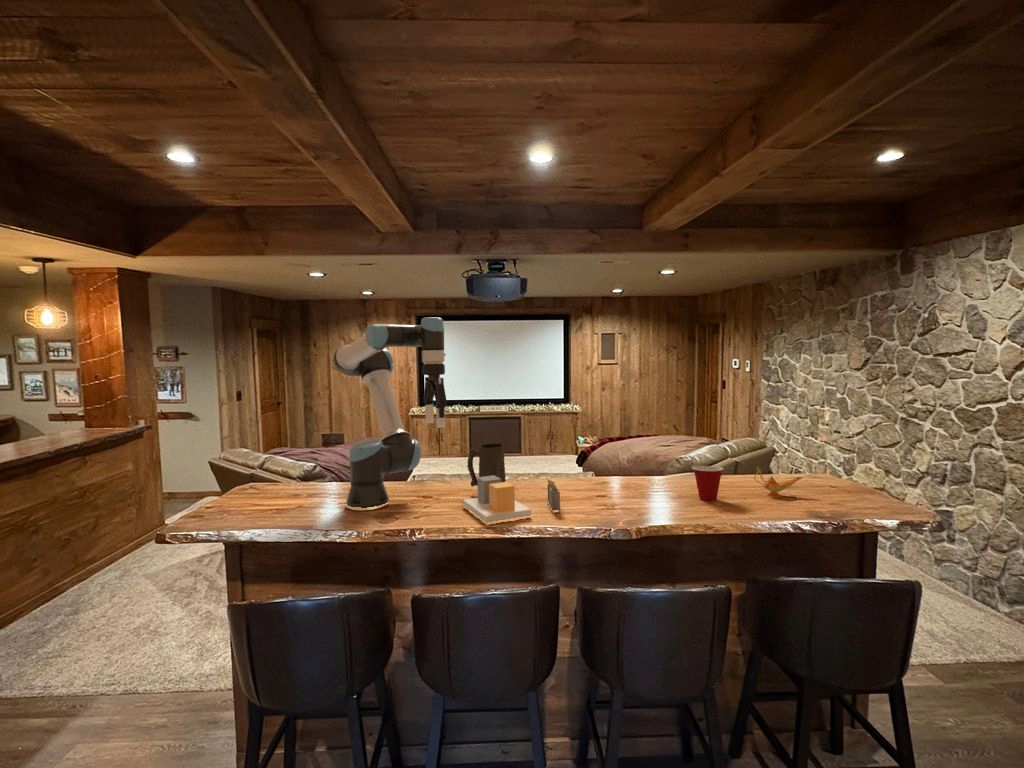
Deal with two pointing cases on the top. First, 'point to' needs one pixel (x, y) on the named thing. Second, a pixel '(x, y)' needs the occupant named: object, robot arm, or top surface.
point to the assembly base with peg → (483, 508)
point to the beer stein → (488, 462)
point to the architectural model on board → (553, 496)
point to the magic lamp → (776, 485)
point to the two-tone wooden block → (501, 497)
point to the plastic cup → (707, 481)
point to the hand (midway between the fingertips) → (435, 425)
